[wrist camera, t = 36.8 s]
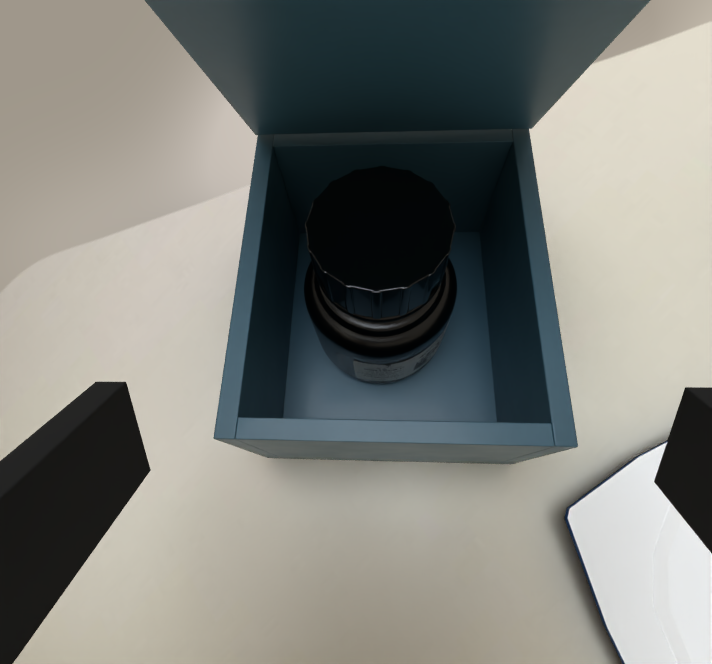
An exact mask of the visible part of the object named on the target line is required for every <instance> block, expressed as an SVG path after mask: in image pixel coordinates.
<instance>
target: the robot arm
mask: <svg viewBox="0 0 712 664" xmlns="http://www.w3.org/2000/svg"><path fill="white" fill-rule="evenodd" d="M149 472H150V467H149V463H148V460H147V456H146V452H145V449H144V445H143V442H142V438H141V434H140V431H139V427H138V423H137V420H136V416H135V413H134V409H133V405H132V402H131V398H130V395H129V391H128V387H127V384H126V382H95V383H94V384H93V385H92V386H90V387H89V388H88V389H87V390H86V391H84V392H83V393H82V394H81V395H80V396H78V397H77V398H76V399H75V400H74V401H72V402H71V403H70V404H69V405H67V406H66V407H65V408H64V409H63V410H61V411H60V412H59V413H58V414H57V415H55V416H54V417H53V418H52V419H51V420H49V421H48V422H47V423H46V424H45V425H43V426H42V427H41V428H40V429H39V430H37V431H36V432H35V433H34V434H32V435H31V436H30V437H29V438H28V439H26V440H25V441H24V442H23V443H22V444H20V445H19V446H18V447H17V448H16V449H14V450H13V451H12V452H11V453H10V454H8V455H7V456H6V457H5V458H4V459H2V460H1V461H0V664H13V662H14V661H15V660H16V658H17V657H18V655H19V654H20V653H21V651H22V650H23V648H24V647H25V646H26V644H27V643H28V641H29V640H30V639H31V637H32V636H33V634H34V633H35V632H36V630H37V629H38V627H39V626H40V624H41V623H42V622H43V620H44V619H45V617H46V616H47V615H48V613H49V612H50V610H51V609H52V608H53V606H54V605H55V603H56V602H57V601H58V599H59V598H60V596H61V595H62V594H63V592H64V591H65V589H66V588H67V587H68V585H69V584H70V582H71V581H72V580H73V578H74V577H75V575H76V574H77V573H78V571H79V570H80V568H81V567H82V566H83V564H84V563H85V561H86V560H87V559H88V557H89V556H90V554H91V553H92V552H93V550H94V549H95V547H96V546H97V545H98V543H99V542H100V540H101V539H102V538H103V536H104V535H105V533H106V532H107V530H108V529H109V528H110V526H111V525H112V523H113V522H114V521H115V519H116V518H117V516H118V515H119V514H120V512H121V511H122V509H123V508H124V507H125V505H126V504H127V502H128V501H129V500H130V498H131V497H132V495H133V494H134V493H135V491H136V490H137V488H138V487H139V486H140V484H141V483H142V481H143V480H144V479H145V477H146V476H147V474H148V473H149ZM654 483H655V484H656V485H657V486H658V487H659V489H660V490H661V491H662V492H663V494H664V495H665V496H666V497H667V499H668V500H669V501H670V502H671V504H672V505H673V506H674V507H675V509H676V510H677V511H678V512H679V514H680V515H681V516H682V517H683V519H684V520H685V521H686V522H687V524H688V525H689V526H690V527H691V529H692V530H693V531H694V532H695V534H696V535H697V536H698V537H699V539H700V540H701V541H702V542H703V544H704V545H705V546H706V547H707V548H708V550H709V551H710V552H711V553H712V388H685V390H684V393H683V396H682V399H681V402H680V405H679V408H678V411H677V414H676V417H675V420H674V423H673V426H672V429H671V432H670V435H669V438H668V441H667V444H666V447H665V450H664V453H663V456H662V459H661V462H660V465H659V468H658V471H657V474H656V477H655V480H654Z"/></svg>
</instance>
